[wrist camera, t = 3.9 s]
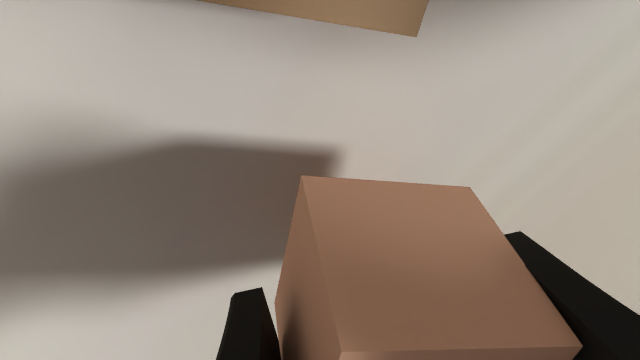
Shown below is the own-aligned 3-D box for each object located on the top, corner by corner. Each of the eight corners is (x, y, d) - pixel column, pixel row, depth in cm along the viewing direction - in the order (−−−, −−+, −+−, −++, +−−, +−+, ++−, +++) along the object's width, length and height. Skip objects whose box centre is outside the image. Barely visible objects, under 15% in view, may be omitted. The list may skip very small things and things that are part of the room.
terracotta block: (469, 186, 11) (582, 345, 8) (417, 303, 14) (485, 467, 10) (301, 175, 10) (342, 351, 7) (274, 302, 13) (294, 485, 9)
